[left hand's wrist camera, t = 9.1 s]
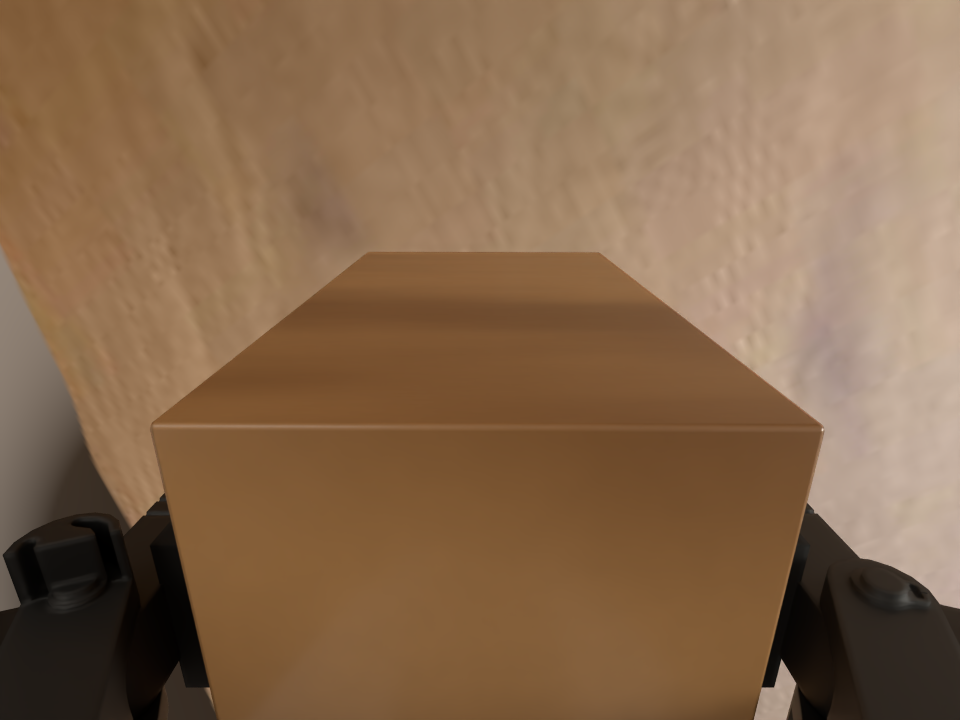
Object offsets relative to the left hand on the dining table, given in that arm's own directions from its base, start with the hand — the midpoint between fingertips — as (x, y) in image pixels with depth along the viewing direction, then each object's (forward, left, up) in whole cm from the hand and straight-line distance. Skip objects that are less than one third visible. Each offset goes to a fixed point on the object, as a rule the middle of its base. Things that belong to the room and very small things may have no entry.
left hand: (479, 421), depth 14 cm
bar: (+8, 0, -1) cm, 8 cm away
